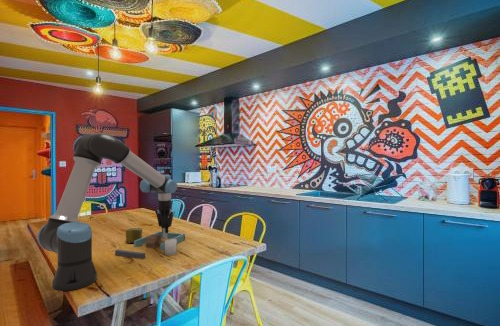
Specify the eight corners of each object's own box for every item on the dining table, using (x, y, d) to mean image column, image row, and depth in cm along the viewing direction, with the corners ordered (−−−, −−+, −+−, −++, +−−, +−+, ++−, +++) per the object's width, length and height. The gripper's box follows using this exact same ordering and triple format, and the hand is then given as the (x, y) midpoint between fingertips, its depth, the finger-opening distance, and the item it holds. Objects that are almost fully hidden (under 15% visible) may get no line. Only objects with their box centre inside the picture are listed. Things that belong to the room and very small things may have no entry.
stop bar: (142, 259, 135) (142, 254, 135) (115, 255, 141) (115, 250, 141) (145, 257, 136) (145, 253, 136) (118, 253, 143) (118, 249, 143)
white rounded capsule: (172, 255, 139) (171, 242, 139) (162, 254, 141) (162, 241, 141) (178, 252, 145) (178, 239, 145) (169, 250, 147) (169, 238, 147)
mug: (137, 241, 158) (134, 225, 160) (122, 246, 160) (120, 229, 162) (150, 240, 169) (147, 224, 172) (136, 244, 171) (134, 228, 174)
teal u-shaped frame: (161, 250, 147) (161, 244, 147) (134, 247, 154) (134, 240, 154) (184, 239, 168) (184, 233, 168) (159, 236, 175) (159, 231, 175)
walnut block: (154, 248, 152) (154, 237, 152) (145, 247, 154) (145, 236, 154) (161, 245, 157) (161, 235, 157) (153, 244, 159) (153, 234, 159)
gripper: (177, 199, 166) (177, 237, 166) (160, 198, 171) (160, 235, 171) (169, 201, 159) (170, 240, 159) (151, 200, 164) (152, 238, 164)
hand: (165, 238), depth 165 cm, fingers closed
